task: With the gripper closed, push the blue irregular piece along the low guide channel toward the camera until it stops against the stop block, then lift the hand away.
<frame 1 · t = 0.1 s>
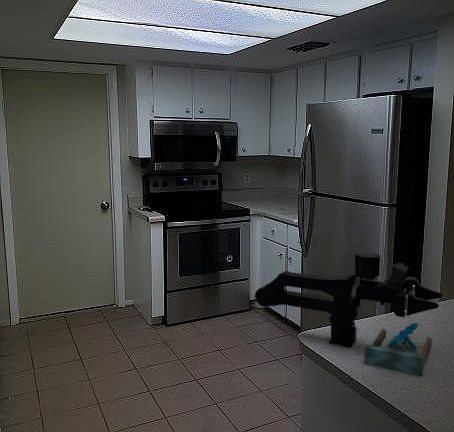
hand: (440, 300, 120), 17 cm above the counter, tool horizontal, fingers open, 9 cm apart
guide channel: (400, 352, 127), on the counter
blue irregular piece: (402, 348, 130), on the counter
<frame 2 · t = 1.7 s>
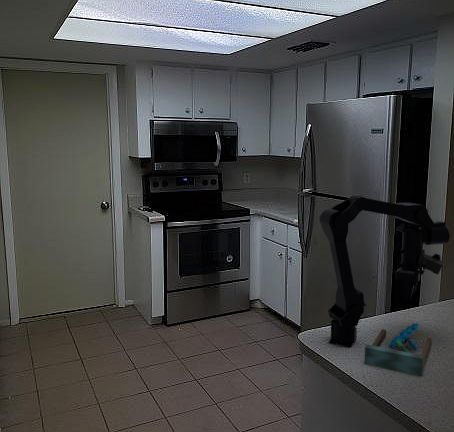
hand: (410, 296, 138), 12 cm above the counter, tool pointing down, fingers open, 6 cm apart
nothing on the counter moved.
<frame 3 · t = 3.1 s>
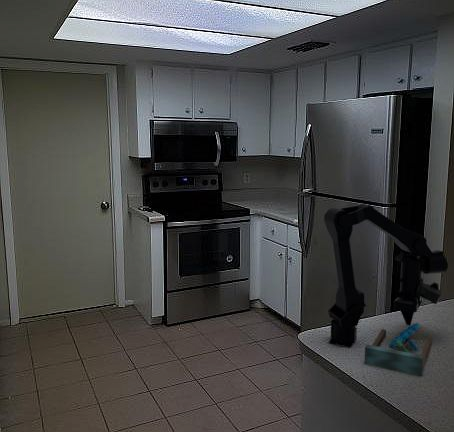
hand: (408, 324, 139), 3 cm above the counter, tool pointing down, fingers closed
nothing on the counter moved.
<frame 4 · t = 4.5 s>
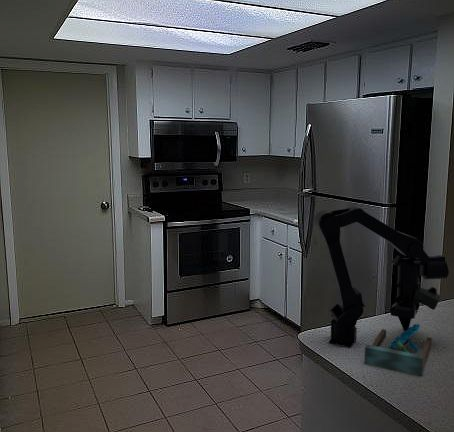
hand: (406, 330, 135), 3 cm above the counter, tool pointing down, fingers closed
blue irregular piece: (403, 350, 129), on the counter, touching gripper
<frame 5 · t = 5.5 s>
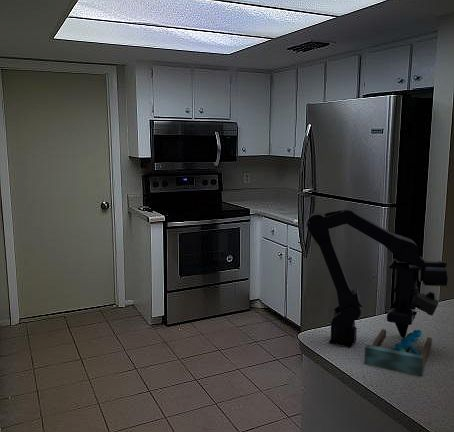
hand: (403, 337, 130), 3 cm above the counter, tool pointing down, fingers closed
blue irregular piece: (405, 357, 125), on the counter, touching gripper
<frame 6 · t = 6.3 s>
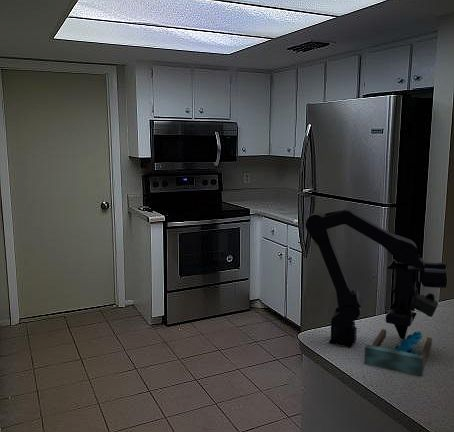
hand: (402, 338, 129), 3 cm above the counter, tool pointing down, fingers closed
blue irregular piece: (405, 359, 124), on the counter, touching gripper
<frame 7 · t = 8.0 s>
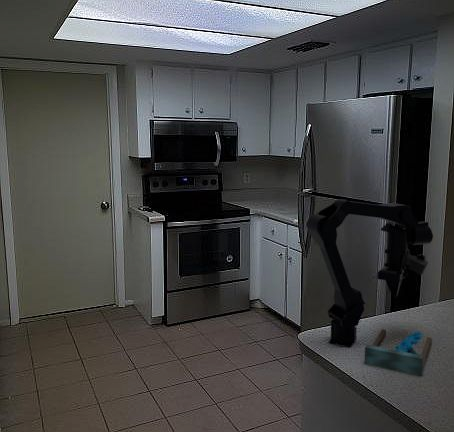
hand: (394, 296, 138), 12 cm above the counter, tool pointing down, fingers closed
blue irregular piece: (405, 359, 124), on the counter
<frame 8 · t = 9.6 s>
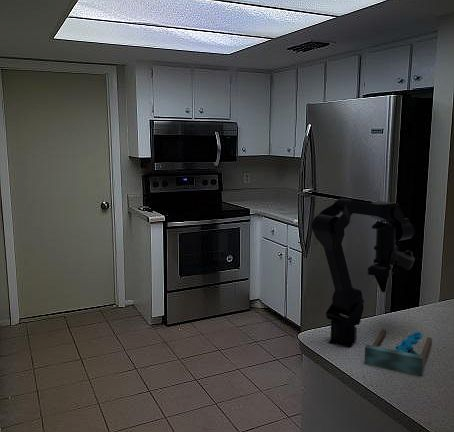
hand: (383, 291, 143), 12 cm above the counter, tool pointing down, fingers closed
nothing on the counter moved.
at the end: blue irregular piece 2.2 cm from the target spot, on the counter; blue irregular piece moved 7.1 cm from its start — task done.
